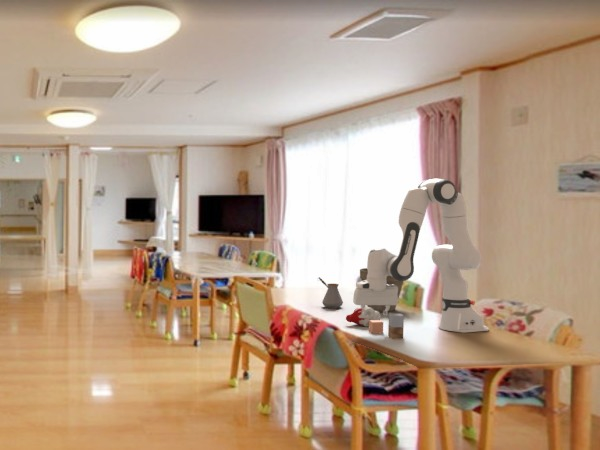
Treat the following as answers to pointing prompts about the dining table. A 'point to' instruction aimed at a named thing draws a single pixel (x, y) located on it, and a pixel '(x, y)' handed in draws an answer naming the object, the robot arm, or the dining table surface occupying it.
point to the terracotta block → (375, 326)
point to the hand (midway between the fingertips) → (375, 315)
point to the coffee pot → (332, 296)
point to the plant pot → (389, 281)
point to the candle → (363, 316)
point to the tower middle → (396, 320)
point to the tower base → (395, 332)
